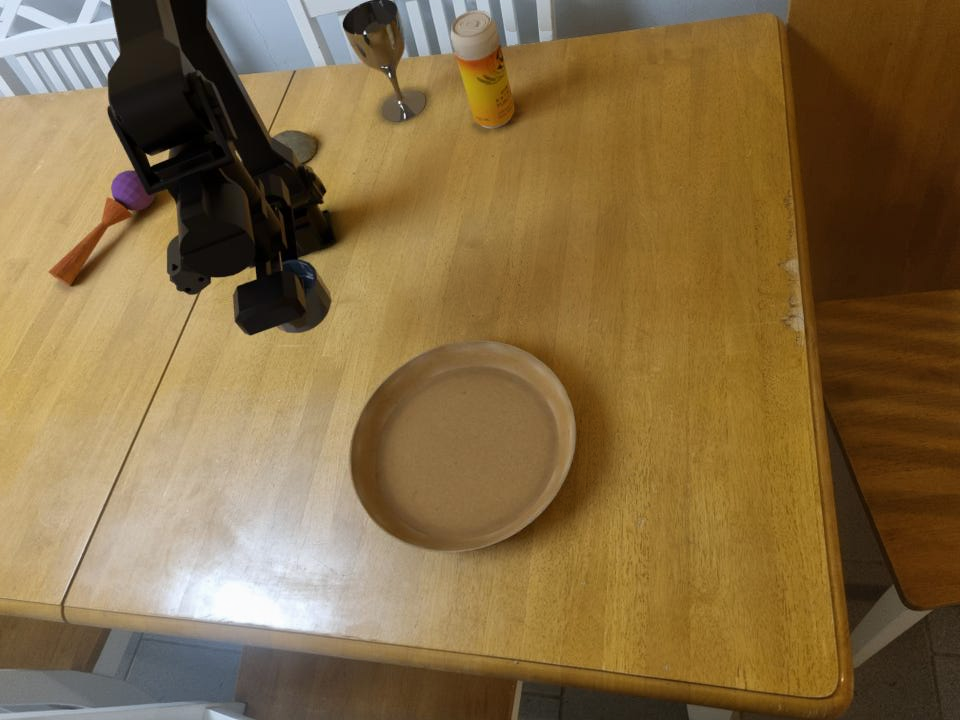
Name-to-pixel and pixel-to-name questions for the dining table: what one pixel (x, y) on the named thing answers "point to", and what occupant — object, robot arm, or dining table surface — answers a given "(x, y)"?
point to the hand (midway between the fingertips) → (299, 301)
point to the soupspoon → (298, 144)
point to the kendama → (105, 223)
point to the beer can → (482, 68)
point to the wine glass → (383, 52)
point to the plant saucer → (462, 446)
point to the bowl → (309, 295)
